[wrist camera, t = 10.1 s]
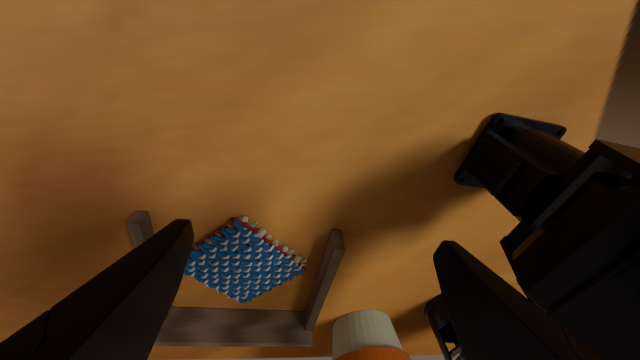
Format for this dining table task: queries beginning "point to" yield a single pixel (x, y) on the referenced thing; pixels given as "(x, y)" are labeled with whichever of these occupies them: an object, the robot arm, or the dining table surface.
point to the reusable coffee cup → (366, 337)
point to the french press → (443, 328)
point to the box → (243, 323)
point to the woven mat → (242, 261)
